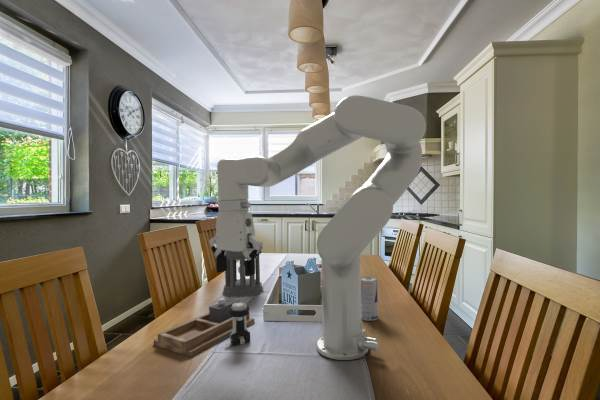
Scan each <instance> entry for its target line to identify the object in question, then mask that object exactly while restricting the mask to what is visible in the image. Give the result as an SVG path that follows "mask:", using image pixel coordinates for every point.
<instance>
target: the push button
mask: <svg viewBox="0 0 600 400" xmlns="http://www.w3.org/2000/svg"><path fill="white" fill-rule="evenodd" d="M233 303H234V304H232V307H230V308H229V312H230V315H231V317H232V318H233V331H232V333H231V334H230V336H229V338H228V339H227V340H226V339H224V341H225V342H227V343H225V346H230V345H232V346H233V347H236V346H239V345H244V344H246V343H251V332H250V331H249V330H248V326H247V325H246V315H248V314H250V306H249V305H247V303H246V302H242V301H240V302H239V301H238V302H233Z"/></svg>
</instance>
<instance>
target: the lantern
mask: <svg viewBox="0 0 600 400" xmlns="http://www.w3.org/2000/svg"><path fill="white" fill-rule="evenodd" d="M262 249H263V247H262V248H261V250H260V253H259V254H258V256H257V258H256V259H255V274H254V275H251V276H249V278H246V277H247V276H245V260H247V259H246V257H245V256H244V254H243V253H242V252H231V251H226V253H225V255H226V257H227V270H226V271H224V278H225V280H224V281H225V284H224V285H223V289H222V295H223V296H225V297H228V298H247V297H248V298H249V297H254V296H257V295H259V294H263V292H264V286H263V283H262V282H261V276H260V275H261V274H260V272H261V270H260V255H261V254H262ZM253 250H254V249H253ZM248 253H249V251H248ZM249 254H250V253H249ZM225 255H224V256H225ZM237 260H238V261H239V266H238V267H237ZM237 268H238V269H237ZM237 271H238V272H237ZM237 273H239V279H237V278H238V276H237V275H238V274H237Z"/></svg>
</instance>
